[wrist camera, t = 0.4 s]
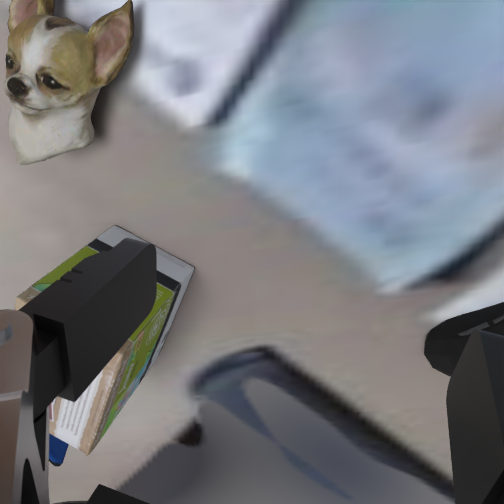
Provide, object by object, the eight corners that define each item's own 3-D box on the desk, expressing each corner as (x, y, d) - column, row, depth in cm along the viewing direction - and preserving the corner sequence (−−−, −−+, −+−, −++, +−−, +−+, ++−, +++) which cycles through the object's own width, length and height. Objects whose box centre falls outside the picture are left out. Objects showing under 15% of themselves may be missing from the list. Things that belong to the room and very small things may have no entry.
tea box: (161, 358, 54) (87, 461, 42) (89, 318, 55) (-5, 408, 42) (199, 265, 46) (121, 359, 34) (114, 220, 47) (7, 296, 34)
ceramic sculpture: (-52, 142, 37) (-46, -67, 30) (23, 125, 44) (43, -45, 37) (61, 197, 36) (96, -3, 29) (118, 170, 44) (156, 6, 36)
